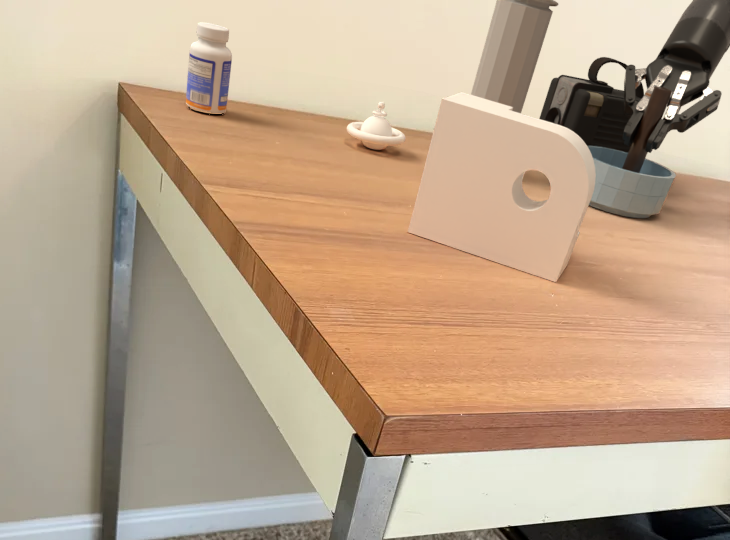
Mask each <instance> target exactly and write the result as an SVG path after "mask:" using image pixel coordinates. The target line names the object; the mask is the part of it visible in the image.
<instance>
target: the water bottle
mask: <svg viewBox="0 0 730 540" xmlns="http://www.w3.org/2000/svg"><path fill="white" fill-rule="evenodd" d="M495 1H496V2H495V6H494V8H493V13H492V15H491V19H490V23H489V27H488V31H487V35H486V38H485V41H484V45H483V49H482V51H481V52H482V53H481V55H480V59H479V63H478V67H477V70H476V74H475V78H474V82H473V85H472V89H471V92H470V95H474V96H477V97H480V98H484V99H487V100H490V101H494V102H497V103H501V104H504V105H507V106H511V107H513V110H512V111H514V112H518V113H521V114H522V111H523V109H524V105H525V102H526V99H527V96H528V92H529V89H530V86H531V83H532V80H533V76H534V73H535V70H536V66H537V63H538V61H539V58H540V54H541V51H542V48H543V44H544V41H545V38H546V35H547V32H548V29H549V25H550V22H551V20H552V15H553V12H554V11H553V10H552V9H550V7H558V6H559V2H557V1H556V0H495Z"/></svg>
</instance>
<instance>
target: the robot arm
mask: <svg viewBox="0 0 730 540" xmlns="http://www.w3.org/2000/svg"><path fill="white" fill-rule="evenodd" d="M729 49H730V0H692V1H691V2H690V4H688V6H687V7H686V9H685V10H684V12H683V13H682V14H681V16H680V17H679V19H678V21H677V23H676V24H675V26H674V27H673V30H671V33H670V35H669V36H668V38H667V40H666V41H665V43H664V44H663V46H662V48H661V49H660V51H659V53H658V55H657V56H656V58H655V59H654V60H653V61H651V62H649V64H647V66H646V67H644V68H636V65H634V64H627V65H628V66H627V67H626V70H625V73H624V80H623V91H624V114H625V115H627V116H629V115H630V116H631V118H630V119H629V121H628V123H627V124H626V126H625V128H624V133H623V139H624V140H625V141H624V144H625V145H628V146H630V144H631V143H632V141H633V139H634V137H635V134H636V132H637V129H638V127H639V124H640V122H641V119H642V117H643V114H644V112H645V109H646V107H647V104H648V102H649V99H650V96H651V94H652V91H653V89H654V87H655V86H659V87H663V88H666V89H669V90H672V91H673V92H672V95H671V97H670V99H669V102H668V104H667V107H666V110H665V112H664V115H663V117H662V119H660V121H659V122H658V124H657V126H656V127H655V129H654V131H653V132H652V134H651V136H650V137H649V139H648V141H647V144H646V150H645V151H646V152H648V153H649V154H651V153H652V152H653V150H654V151H657V150H658V149H659V148H660V147H661V145H662V143H663V142H664V140H665V138H666V137H667V135H668V133H670V132H671V131H677V132H678V133H679V134H680V133H681V134H682V133H685V132H687V131H688V130H689V129H691V128H692V127H693V126H695V125H697V124H698V123H700V122H702V121H703V120H704V119H706V118H707V117H708V116H711V114H713V113H714V112H716V111H717V110H718V108H719V105H720V101H721V98H722V93H723V92H722V91H721V90H719V89H714V90H713V89H712V88H711V87H709V86H710V79H711V77H712V76H713V74H714V73H715V71H716V69H717V67H718V66H719V64H720V63H721V60H722V59H723V57H724V56H725V54H726V53H727V52H728V50H729ZM643 80H644V81H645V87H646V91H645V92H644V96H643V98H642V99H641V100H640V102H638V101H636V100H635V89H636V88H637V87H638V86H639V85H640V82H642V81H643ZM697 99H699V100H698V101H697V102H695V103H694V104H693V105H691V106H689V107H688V108H687V109H685V110H684V111H682V112H681V109H682V107H684V106H686V105H687V104H690V103H691V102H693V101H696V100H697ZM680 112H681V113H680Z"/></svg>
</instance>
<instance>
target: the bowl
mask: <svg viewBox="0 0 730 540" xmlns="http://www.w3.org/2000/svg"><path fill="white" fill-rule="evenodd" d="M588 148H589V150H590V152H591V154H592V157H593V160H594V165H595V173H596V178H595V187H594V192H593V195H592V198H591V201H590V203H589V206H590V207H592V208H594V209H597V210H600V211H603V212H606V213H609V214H613V215H618V216H621V217H627V218H633V219H648V218H650V217H652V216H653V215H659V214H660V213H661V212H662V210H663V208H664V205H665V203H666V200H667V198H668V196H669V193H670V192H671V189H672V186H673V185H674V182H675V180H676V178H677V173H675V171H674V170H671V169H670V168H669V167H667V166H665V165H664V164H661V163H659V162H656V161H653V160H652V159H648V158H647V157H646V158H645V160H644V163H643V165H642V168H641V170H640V172H639V173H637V172H633V171H629V170H625V169H622V167H623V164H624V162H625V159H626V157H627V154H628V153H627V152H623V151H619V150H615V149H611V148H605V147H600V146H590V145H589V146H588Z"/></svg>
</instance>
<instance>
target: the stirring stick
mask: <svg viewBox="0 0 730 540" xmlns="http://www.w3.org/2000/svg"><path fill="white" fill-rule="evenodd" d="M672 92H673V91H672V90H669V89H666V88H663V87H659V86H655V87H654V89H653V91H652V94H651V96H650V99H649V102H648V104H647V107H646V109H645V112H644V114H643V117H642V119H641V122H640V124H639V127H638V129H637V132H636V134H635V137H634V139H633V142H632V144H631V147H630V149H629V152H628V154H627V157H626V159H625V162H624V164H623V167H622V169H625V170H629V171H633V172H637V173H639V172H640V170H641V168H642V165H643V163H644V160H645V158H646V159H647V155H648V153H649V152H646V151H645V150H646V144H647V141H648V139H649V137H650V136H651V134H652V132H653V131H654V129H655V127H656V126H657V124H658V122H659V121H660V119H663V118H664V115H665V113H666V110H667V108H668V107H667V104H668V102H669V99H670V97H671V95H672Z"/></svg>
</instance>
